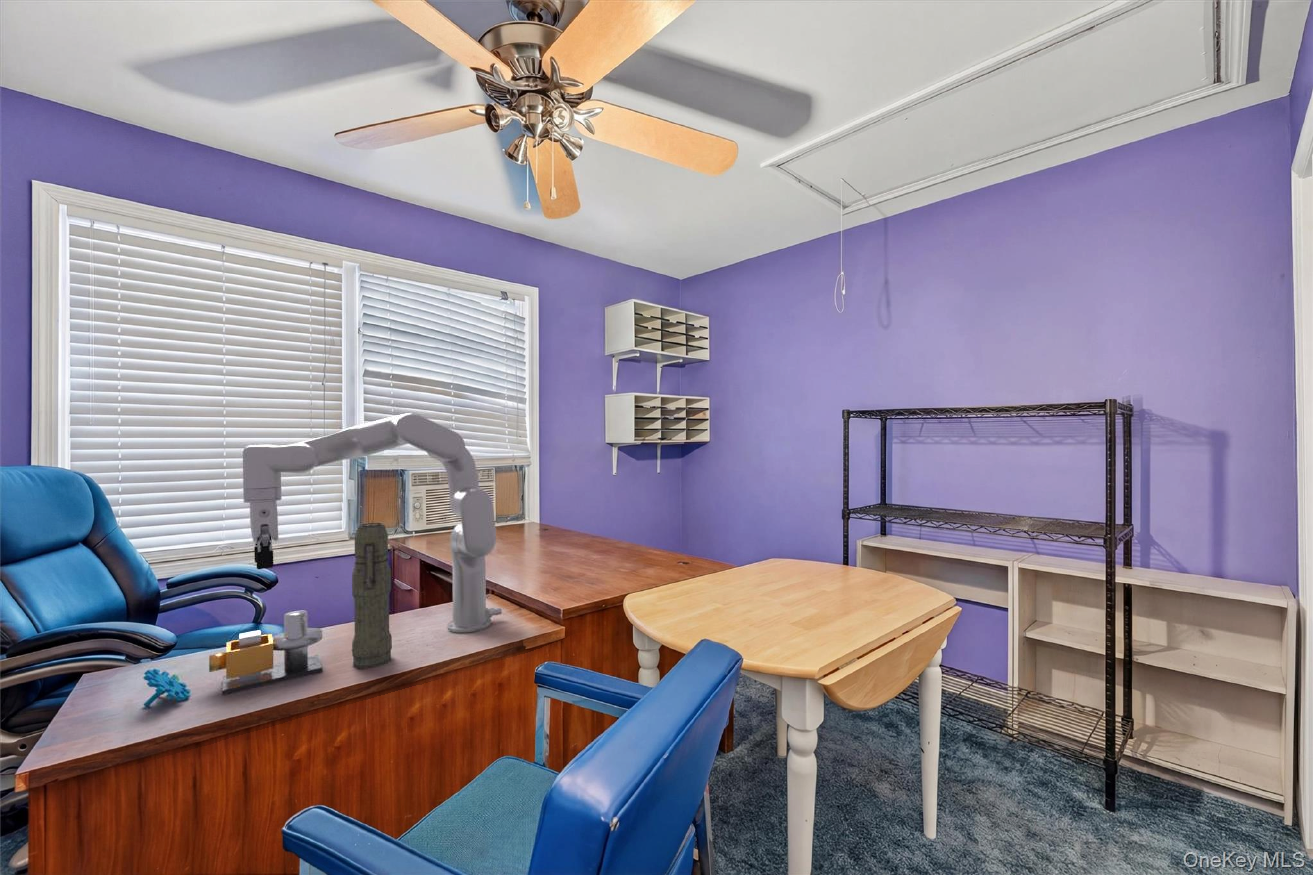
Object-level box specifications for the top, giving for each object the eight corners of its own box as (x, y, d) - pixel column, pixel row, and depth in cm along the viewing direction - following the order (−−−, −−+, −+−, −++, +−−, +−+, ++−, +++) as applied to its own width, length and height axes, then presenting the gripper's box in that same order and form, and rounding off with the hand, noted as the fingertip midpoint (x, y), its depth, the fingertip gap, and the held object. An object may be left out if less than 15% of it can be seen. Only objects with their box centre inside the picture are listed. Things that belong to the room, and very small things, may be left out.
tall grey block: (260, 671, 127) (260, 629, 128) (261, 677, 124) (260, 634, 124) (239, 676, 125) (239, 633, 125) (239, 682, 122) (239, 638, 122)
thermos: (390, 649, 142) (389, 520, 143) (393, 665, 132) (392, 525, 133) (352, 657, 138) (351, 522, 139) (352, 673, 128) (351, 528, 128)
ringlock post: (319, 657, 138) (319, 603, 138) (325, 671, 129) (324, 614, 129) (210, 681, 124) (210, 622, 125) (208, 699, 116) (208, 635, 116)
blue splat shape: (184, 700, 112) (142, 672, 110) (157, 726, 110) (113, 698, 107) (200, 686, 122) (161, 660, 119) (176, 710, 119) (136, 684, 117)
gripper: (284, 496, 126) (285, 568, 126) (278, 491, 139) (279, 557, 139) (244, 499, 121) (245, 573, 121) (242, 494, 134) (243, 561, 134)
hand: (263, 564), depth 130 cm, fingers open, 9 cm apart
